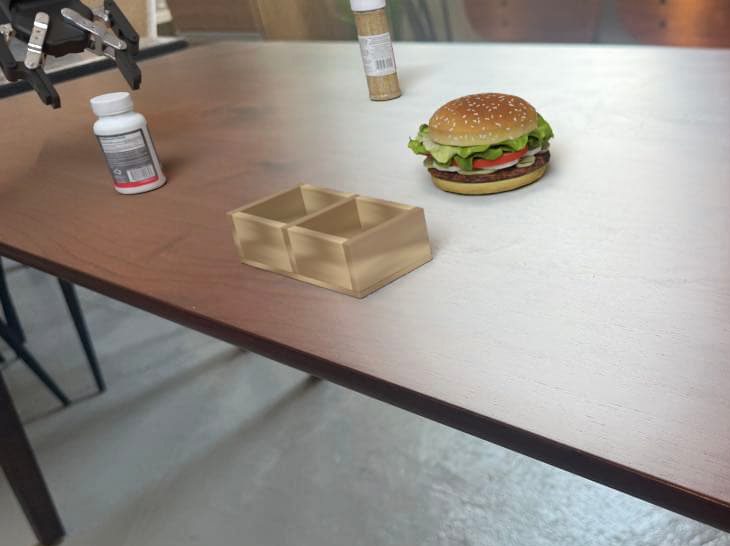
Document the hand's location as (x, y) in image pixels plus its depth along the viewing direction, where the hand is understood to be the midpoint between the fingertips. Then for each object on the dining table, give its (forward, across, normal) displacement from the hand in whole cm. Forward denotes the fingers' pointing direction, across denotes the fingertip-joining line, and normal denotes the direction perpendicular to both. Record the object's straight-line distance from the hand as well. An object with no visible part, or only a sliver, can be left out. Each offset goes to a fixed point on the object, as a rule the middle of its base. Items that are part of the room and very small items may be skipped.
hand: (98, 94), depth 93 cm
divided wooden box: (+36, +2, -22) cm, 42 cm away
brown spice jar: (+4, +38, +10) cm, 39 cm away
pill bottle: (+10, 0, +4) cm, 11 cm away
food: (+32, +23, -18) cm, 44 cm away
